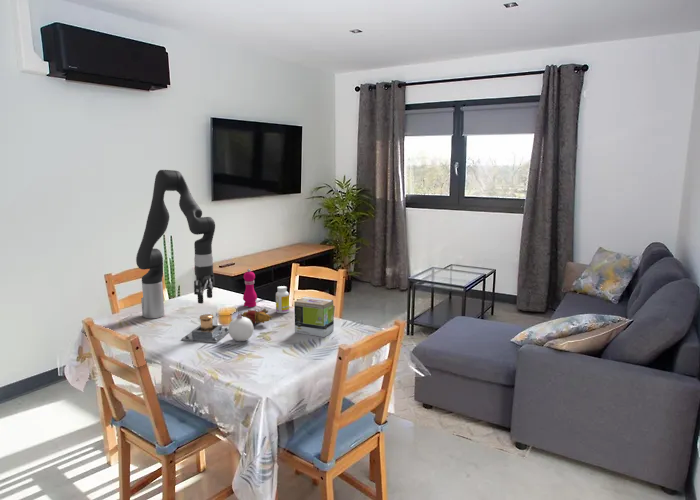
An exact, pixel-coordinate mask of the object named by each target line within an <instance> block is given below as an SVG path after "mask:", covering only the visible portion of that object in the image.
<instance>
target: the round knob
mask: <svg viewBox="0 0 700 500" xmlns="http://www.w3.org/2000/svg"><path fill="white" fill-rule="evenodd" d="M213 319H214V315H213V314H211V313H210V314H209V313H207V314H206V313H205V314H201V315H200V316H199V320H200V325H201V331H212V330H213V325H214V324H213Z"/></svg>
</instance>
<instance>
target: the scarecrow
mask: <svg viewBox="0 0 700 500" xmlns="http://www.w3.org/2000/svg"><path fill="white" fill-rule="evenodd" d="M268 313H269V311H268V309H266V308H263V309H262V308H261V309H260V310H259V309H258V310H256V309H255V310H252V309H249V310H248V309H247V311H244V312H243V313H240V314H241V316H242V317H246V318H248V319H250V320H251V322H252V324H253V325H254V324H255V323H258V324H259V323H263V324H264V323H266V322H269V321H270V320H271V319H272V318H273V317H274V316H273V315H269V314H268ZM239 317H240V316H239Z"/></svg>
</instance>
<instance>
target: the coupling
mask: <svg viewBox="0 0 700 500" xmlns="http://www.w3.org/2000/svg"><path fill="white" fill-rule="evenodd" d="M228 334H229V327H222V325H220V324H213V330H212V331H201V324H200V325H199V326H196V328H194V329H193V330H192V331H190V332H189V333H187V334H186V335H185V336H183V337H181V339H180V340H181V342H195V343H207V344H208V343H209V344H217V343H218V342H220V341H221V340H223V339H224V338H225V337H226V336H227V335H228Z"/></svg>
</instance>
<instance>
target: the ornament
mask: <svg viewBox="0 0 700 500" xmlns="http://www.w3.org/2000/svg"><path fill="white" fill-rule="evenodd" d="M241 314H242V313H238V314H237V317H235V318H233V319H231V321H230V322H229V325H228V329H229V333H228V334H229V336H230V338H231V339H232V340H234V341H236V342H244V341H247V340H249V339H250V338H251V337H252V335H253V333H254V324H252V322H251V320H250V319H248V318H246V317H243V316H241ZM239 316H240V317H239Z"/></svg>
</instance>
